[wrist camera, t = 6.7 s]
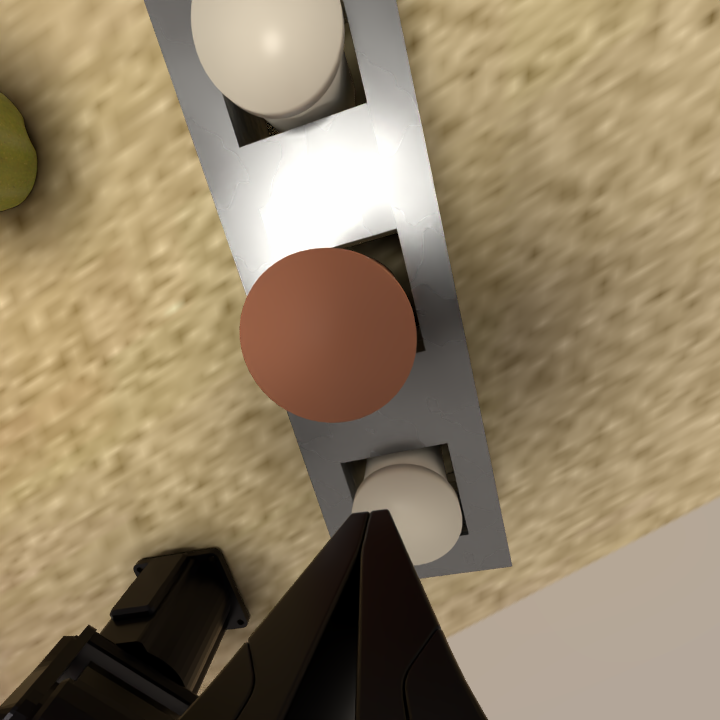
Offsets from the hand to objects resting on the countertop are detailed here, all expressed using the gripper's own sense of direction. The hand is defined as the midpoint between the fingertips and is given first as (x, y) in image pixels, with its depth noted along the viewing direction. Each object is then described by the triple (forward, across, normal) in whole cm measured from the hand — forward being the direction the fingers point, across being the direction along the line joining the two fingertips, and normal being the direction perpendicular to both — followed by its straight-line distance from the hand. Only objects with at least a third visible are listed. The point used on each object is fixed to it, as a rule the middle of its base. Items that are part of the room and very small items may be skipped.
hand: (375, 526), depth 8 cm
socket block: (+13, +1, -4) cm, 13 cm away
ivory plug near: (+13, +1, -13) cm, 18 cm away
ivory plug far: (+13, 0, +5) cm, 14 cm away
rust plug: (+9, +1, -4) cm, 10 cm away
